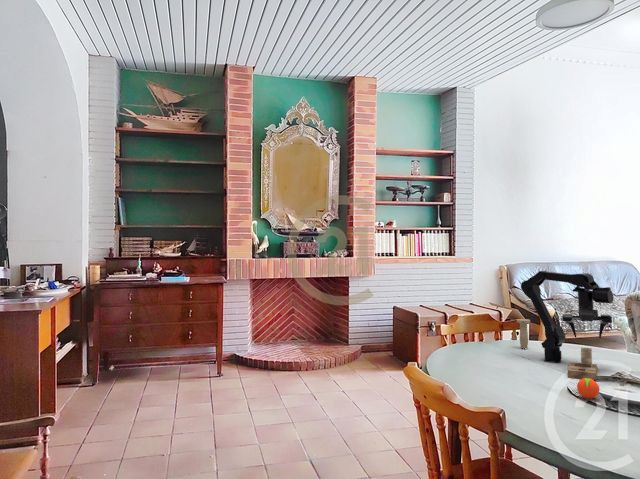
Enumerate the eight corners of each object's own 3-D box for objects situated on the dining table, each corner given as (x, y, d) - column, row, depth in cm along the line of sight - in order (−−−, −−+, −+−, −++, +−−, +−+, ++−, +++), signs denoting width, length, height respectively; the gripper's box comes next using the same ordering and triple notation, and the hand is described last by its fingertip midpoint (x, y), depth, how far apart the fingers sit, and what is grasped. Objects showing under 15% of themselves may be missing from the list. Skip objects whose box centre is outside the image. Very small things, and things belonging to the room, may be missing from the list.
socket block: (567, 377, 190) (567, 370, 190) (570, 368, 203) (570, 361, 203) (596, 380, 185) (596, 373, 185) (597, 371, 198) (596, 364, 198)
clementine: (599, 403, 160) (598, 382, 160) (576, 400, 164) (575, 379, 164) (599, 396, 167) (599, 376, 167) (577, 393, 171) (577, 374, 171)
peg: (581, 367, 205) (580, 349, 205) (581, 365, 208) (581, 347, 208) (591, 368, 203) (591, 350, 203) (592, 366, 206) (591, 348, 206)
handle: (531, 350, 239) (530, 320, 239) (517, 349, 241) (516, 320, 241) (530, 348, 243) (530, 319, 243) (517, 347, 246) (516, 318, 246)
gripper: (561, 303, 203) (563, 339, 202) (611, 304, 194) (613, 342, 193) (562, 301, 213) (563, 335, 212) (610, 301, 203) (612, 337, 203)
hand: (587, 337), depth 205 cm, fingers open, 9 cm apart
